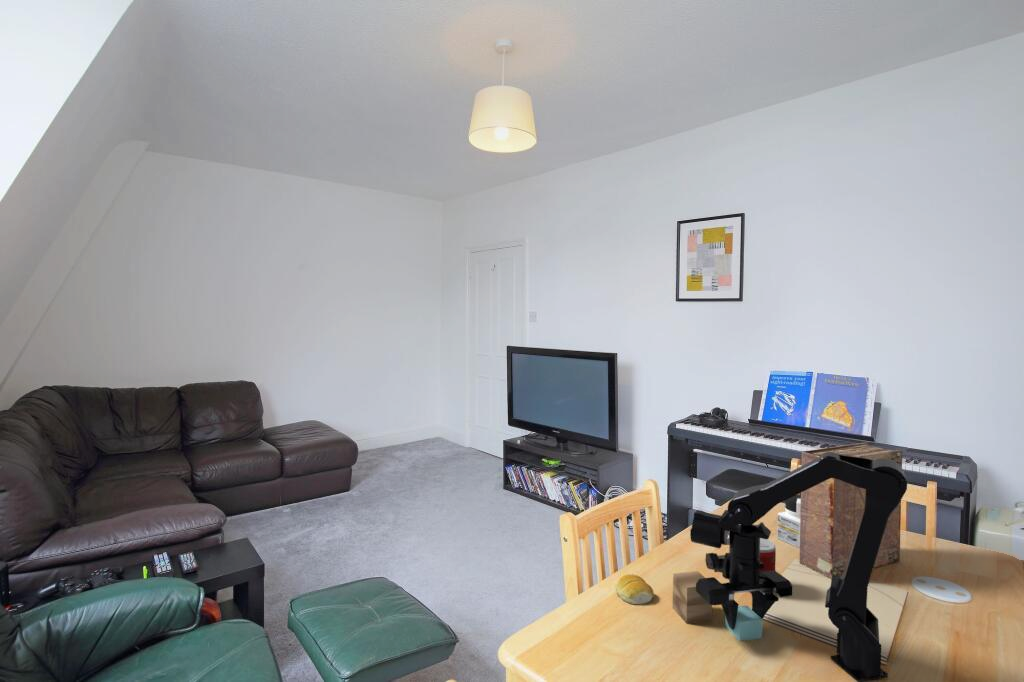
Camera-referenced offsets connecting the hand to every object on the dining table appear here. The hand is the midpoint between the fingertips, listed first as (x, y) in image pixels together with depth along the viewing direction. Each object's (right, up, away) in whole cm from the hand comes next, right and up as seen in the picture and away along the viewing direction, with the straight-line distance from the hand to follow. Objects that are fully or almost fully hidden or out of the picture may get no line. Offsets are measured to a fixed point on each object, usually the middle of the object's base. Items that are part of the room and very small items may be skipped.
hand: (743, 627), depth 106 cm
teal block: (0, -1, 0) cm, 1 cm away
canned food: (+11, 0, +17) cm, 21 cm away
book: (+41, 0, +29) cm, 51 cm away
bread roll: (-19, -1, +15) cm, 24 cm away
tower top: (-8, +3, +7) cm, 11 cm away
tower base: (-8, -1, +7) cm, 11 cm away
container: (+35, +1, +42) cm, 55 cm away
